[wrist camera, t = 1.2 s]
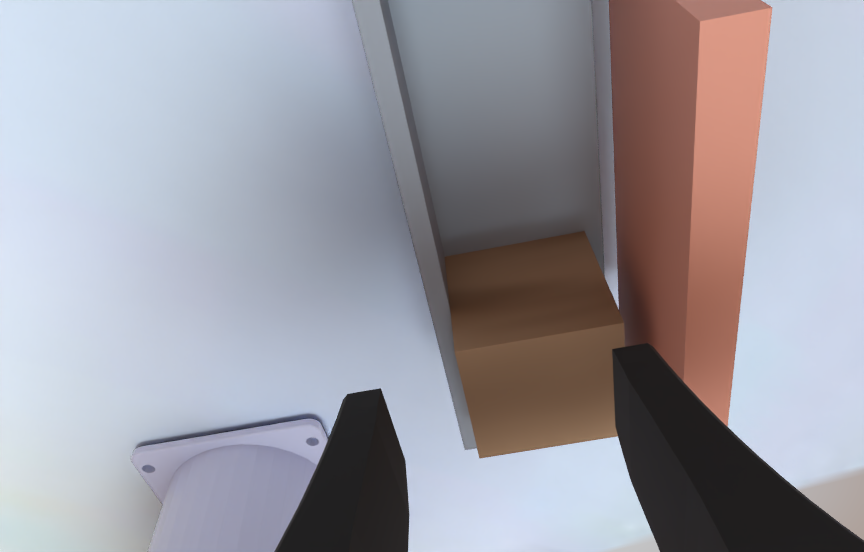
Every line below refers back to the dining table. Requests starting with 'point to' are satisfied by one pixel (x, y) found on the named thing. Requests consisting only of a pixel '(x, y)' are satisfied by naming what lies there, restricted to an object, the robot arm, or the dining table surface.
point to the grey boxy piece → (485, 131)
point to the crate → (535, 343)
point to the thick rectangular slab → (686, 176)
